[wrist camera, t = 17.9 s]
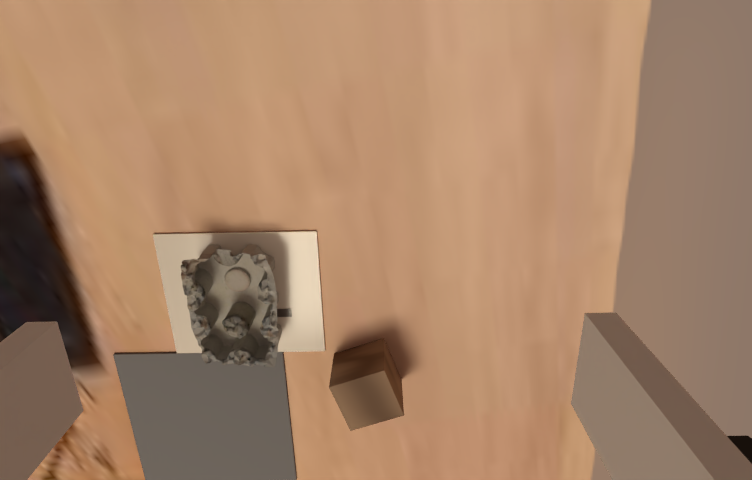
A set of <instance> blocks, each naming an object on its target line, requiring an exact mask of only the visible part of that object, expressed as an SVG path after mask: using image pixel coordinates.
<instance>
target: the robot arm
mask: <svg viewBox="0 0 752 480" xmlns="http://www.w3.org/2000/svg"><path fill="white" fill-rule="evenodd" d="M571 404H572V406H573V408H574V410H575V412H576V414H577V416H578V417H579V419H580V421H581V423H582V425H583V427H584V428H585V430H586V432H587V434H588V436H589V438H590V440H591V441H592V443H593V445H594V447H595V449H596V451H597V453H598V454H599V456H600V458H601V460H602V462H603V463H604V465H605V467H606V469H607V471H608V473H609V475H610V477H611V478H612V480H752V438H750V437H749V436H726V435H725V434H724V432H723V431H722V430H721V429H720V428H719V427H718V426H717V425H716V423H715V422H714V421H713V420H712V419H711V418H710V417H709V416H708V415H707V414H706V412H705V411H704V410H703V409H702V408H701V407H700V406H699V404H698V403H697V402H696V401H695V400H694V399H693V398H692V397H691V396H690V394H689V393H688V392H687V391H686V390H685V389H684V388H683V387H682V386H681V384H680V383H679V382H678V381H677V380H676V379H675V378H674V377H673V375H672V374H671V373H670V372H669V371H668V370H667V369H666V368H665V367H664V366H663V364H662V363H661V362H660V361H659V360H658V359H657V358H656V357H655V355H654V354H653V353H652V352H651V351H650V350H649V349H648V348H647V347H646V345H645V344H644V343H643V342H642V341H641V340H640V339H639V338H638V336H637V335H636V334H635V333H634V332H633V331H632V330H631V329H630V327H629V326H628V325H627V324H626V323H625V322H624V321H623V320H622V319H621V317H620V316H619V315H618V314H617V313H585V316H584V322H583V329H582V335H581V342H580V348H579V355H578V361H577V368H576V374H575V381H574V388H573V394H572V401H571ZM82 412H83V407H82V404H81V401H80V397H79V394H78V391H77V387H76V384H75V381H74V377H73V374H72V371H71V367H70V364H69V361H68V357H67V354H66V350H65V347H64V344H63V340H62V337H61V334H60V330H59V327H58V324H57V322H26V323H25V324H24V325H22V326H21V327H20V328H19V329H17V330H16V331H15V332H13V333H12V334H11V335H10V336H8V337H7V338H6V339H4V340H3V341H2V342H1V343H0V480H27V479H28V478H29V477H30V475H31V474H32V473H33V472H34V470H35V469H36V468H37V467H38V466H39V464H40V463H41V462H42V461H43V459H44V458H45V457H46V456H47V454H48V453H49V452H50V451H51V450H52V448H53V447H54V446H55V445H56V443H57V442H58V441H59V440H60V439H61V437H62V436H63V435H64V434H65V432H66V431H67V430H68V429H69V427H70V426H71V425H72V424H73V423H74V421H75V420H76V419H77V418H78V416H79V415H80V414H81V413H82Z"/></svg>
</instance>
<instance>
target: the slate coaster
mask: <svg viewBox="0 0 752 480" xmlns="http://www.w3.org/2000/svg"><path fill="white" fill-rule="evenodd" d="M201 354H202V353H178V354H177V353H115V354H114V359H115V363H116V367H117V371H118V375H119V379H120V383H121V386H122V390H123V394H124V398H125V402H126V406H127V410H128V414H129V417H130V421H131V425H132V429H133V433H134V437H135V441H136V445H137V449H138V452H139V456H140V460H141V464H142V468H143V472H144V476H145V480H296V479H297V478H296V469H295V459H294V450H293V441H292V431H291V422H290V413H289V404H288V394H287V385H286V376H285V366H284V357H283V352H277V359H276V364H275V367H265V366H262V365H259V364H258V365H255V366H252V367H250V366H246V365H239V366H238V365H236V364H228V365H222V363H221V362H217V361H213V362H211V363H205V362H204V361H203V359H202V356H201Z"/></svg>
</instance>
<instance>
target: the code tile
mask: <svg viewBox="0 0 752 480" xmlns="http://www.w3.org/2000/svg"><path fill="white" fill-rule="evenodd" d="M153 238H154V243H155V248H156V253H157V258H158V263H159V268H160V273H161V278H162V283H163V288H164V293H165V298H166V303H167V308H168V313H169V318H170V323H171V327H172V332H173V337H174V342H175V347H176V352H177V354H178V353H202V349H201V347H200V346H199V345H198V341H197V339H196V338H195V335H194V333H193V330H192V328H191V319H190V313H189V310H188V306H187V295H185V294H184V290H183V284H182V279H181V272H182V271H181V265H182V261H183V260H191V259H198V258H199V257H200V255H201V254H202V252H203V251H204V250H205V249H206V248H207V246H208V245H210V244H214V245H217V244H218V245H220V246H221V248H222V249H223V250H231V252H232V254H233V256H236V255H237V254H241V253H242V252H243V250H244V249H245V247H246V246H247V245H248V244H253V245H258V246H259V247H260V248H261V250H262V251H263V252H264V253H266V254H268V255H269V256H272V257H274V260H275V268H274V270H273V272H272V273H273V276H274V281H275V287H276V291H277V292H278V296H279V301H278V303H277V324H280V325H281V328H282V334H281V338H280V340H279V343H278V352H307V351H325V341H324V327H323V312H322V298H321V284H320V270H319V255H318V241H317V231H282V232H228V233H174V234H153Z"/></svg>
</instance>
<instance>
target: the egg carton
mask: <svg viewBox="0 0 752 480" xmlns="http://www.w3.org/2000/svg"><path fill="white" fill-rule="evenodd" d="M274 268H275V260H274V257H272V256H269V255H268V254H266V253H264V252H263V251H262V250H261V248H260V247H259V246H258V245H253V244H248V245H247V246H246V247H245V249H244V250H243V252H242V253H241V254H237V255H236V256H233V254H232V252H231V250H223V249H222V248H221V246H220V245H218V244H217V245H214V244H210V245H208V246H207V248H206V249H205V250H204V251H203V252H202V254H201V255H200V257H199V258H198V259H191V260H183V261H182V265H181V271H182V272H181V279H182V284H183V290H184V294H185V295H187V306H188V310H189V313H190V319H191V328H192V330H193V333H194V335H195V338H196V339H197V341H198V345H199V346H200V347H201V349H202V354H201V356H202V359H203V361H204V362H205V363H211V362H213V361H217V362H221V363H222V365H228V364H236V365H238V366H239V365H246V366H250V367H252V366H255V365H258V364H259V365H262V366H265V367H275V364H276V359H277V352H278V343H279V340H280V338H281V334H282V328H281V325H280V324H277V303H278V301H279V296H278V292H277V291H276V287H275V281H274V276H273V273H272V272H273V270H274Z"/></svg>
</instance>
